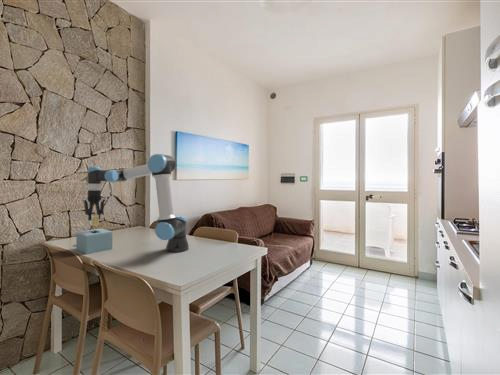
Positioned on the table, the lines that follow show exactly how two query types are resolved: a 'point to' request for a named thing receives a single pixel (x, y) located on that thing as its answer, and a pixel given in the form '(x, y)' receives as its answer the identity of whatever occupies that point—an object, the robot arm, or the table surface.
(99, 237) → the box
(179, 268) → the table surface
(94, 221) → the yellow rectangular block
